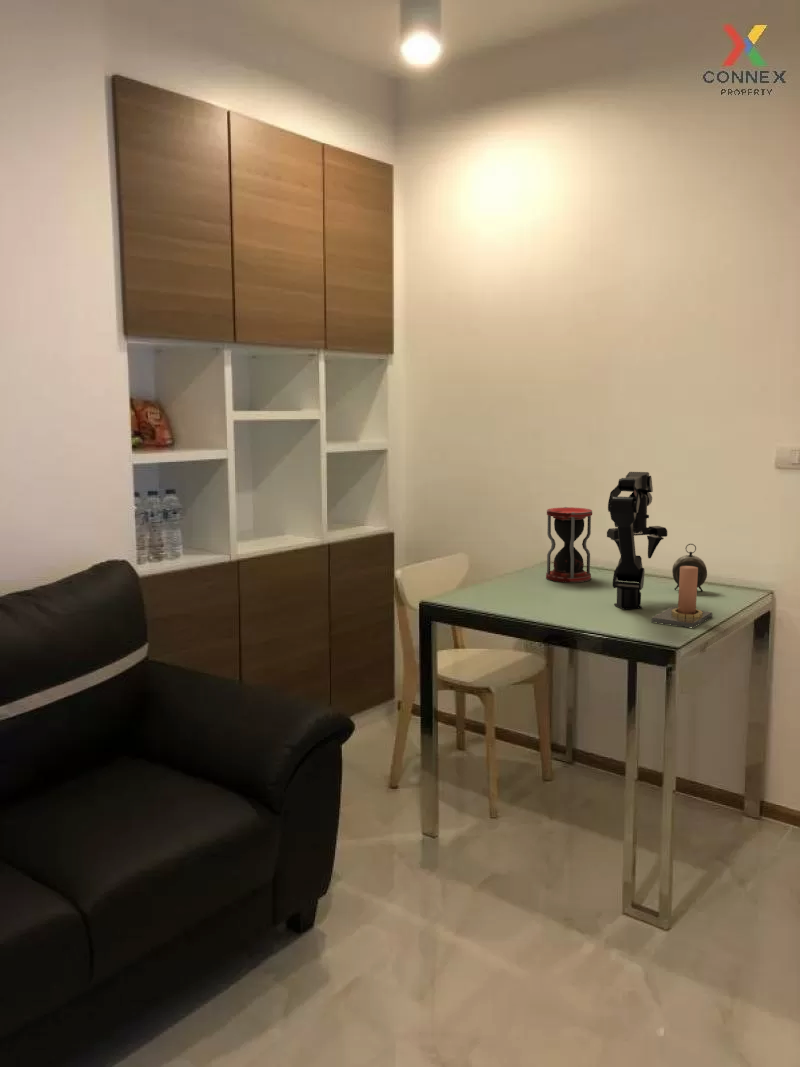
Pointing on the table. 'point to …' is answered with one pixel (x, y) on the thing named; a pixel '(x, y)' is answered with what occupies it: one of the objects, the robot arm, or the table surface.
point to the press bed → (681, 617)
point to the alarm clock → (690, 561)
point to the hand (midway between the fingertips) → (636, 559)
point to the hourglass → (569, 544)
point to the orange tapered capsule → (687, 589)
